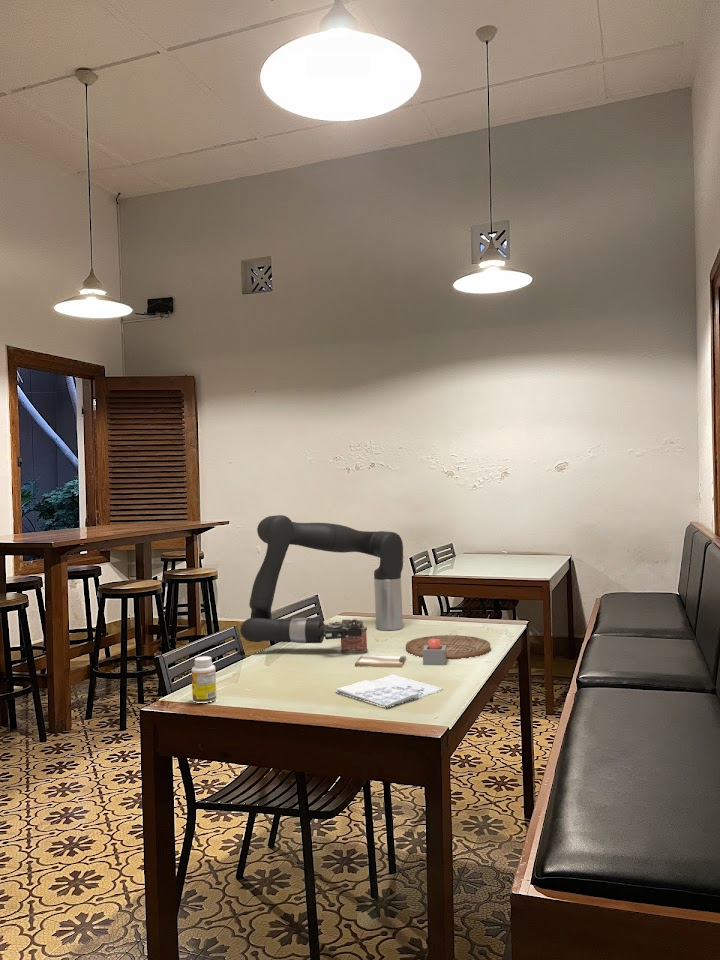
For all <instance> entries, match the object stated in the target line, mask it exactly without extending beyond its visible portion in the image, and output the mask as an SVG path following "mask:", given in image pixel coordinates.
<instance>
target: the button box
mask: <svg viewBox="0 0 720 960" xmlns="http://www.w3.org/2000/svg"><path fill="white" fill-rule="evenodd" d="M445 663H447V653H446V645H440V649H429V645H425V646H424V648H423V658H422V665H424V666H428V665H429V666H433V665H434V666H445V665H446V664H445Z"/></svg>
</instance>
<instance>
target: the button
mask: <svg viewBox="0 0 720 960" xmlns="http://www.w3.org/2000/svg"><path fill="white" fill-rule="evenodd" d="M429 649H440V639H429Z"/></svg>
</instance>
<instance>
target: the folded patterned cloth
mask: <svg viewBox="0 0 720 960" xmlns="http://www.w3.org/2000/svg"><path fill="white" fill-rule="evenodd" d="M393 688H396V689H393ZM398 689H400V690H398ZM441 690H443V691H444V688H443V687H440V686H439V687H438V686H436V685H432V684H429V683H425V682H422V681H417V680H414V679H410V678H407V677H403V676H400V675H396V674H394V673H392V674H389V675H387V676H385V677H381V678H378V679H377V678H376V679H374V680H369V679H364V680H362V681H359V682H355V683H353V684H349V685H346V686H341V687H336V688H335V691H334V693H335V692H338V693H341V694H344V695H347V696H351V697H354V698H357V699H361V700H365V701H369V702H372V703H375V704H378V705H381V706H385V707H390V706H392V705H395V704H399V703H402V702H405V703H407V702H406V701H408V702H410V701H409V700H412V701H414V700H413V699H415V700H417V699H416V698H420V699H423V698H424V697H423V696H425V697H427V696H426V695H428V696H430V695H429V694H431V695H433V694H432V693H434V694H436V693H435V692H437V693H439V692H438V691H440V692H442V691H441ZM341 694H340V695H341ZM344 695H343V696H344ZM347 696H346V697H347ZM402 704H403V703H402ZM399 705H400V704H399ZM390 708H391V707H390Z"/></svg>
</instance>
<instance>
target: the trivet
mask: <svg viewBox="0 0 720 960" xmlns="http://www.w3.org/2000/svg"><path fill="white" fill-rule="evenodd" d="M429 639H440V645H446V653H447V659H451V660H462V659H461V658H466V659H470V658H469V657H473V658H476V657H475V656H478V657H481V656H480V655H482V656H483V654H484V655H486V653H487V654H488V653H490V652H489V651H491V643H490V642H489V641H488V640H487V639H484V638H482V637H481V638H480V637H477V636H469V635H458V634H457V635H456V634H455V635H453V634H452V635H451V634H442V635H440V634H439V635H429V636H428V635H427V636H422V637H417V638H414V639H411V640H409V641H407V643H406V644H405V651H406V653H407V652H408V653H407V654H409V653H410V654H409V655H411V654H413V655H412V656H414V655H415V656H414V657H417V656H419V657H418V658H422V657H423V648H424V646H425V645H429Z"/></svg>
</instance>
